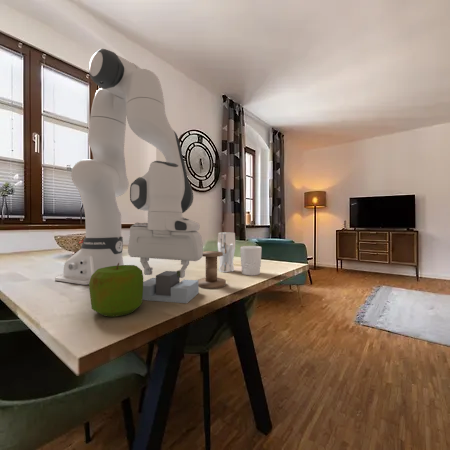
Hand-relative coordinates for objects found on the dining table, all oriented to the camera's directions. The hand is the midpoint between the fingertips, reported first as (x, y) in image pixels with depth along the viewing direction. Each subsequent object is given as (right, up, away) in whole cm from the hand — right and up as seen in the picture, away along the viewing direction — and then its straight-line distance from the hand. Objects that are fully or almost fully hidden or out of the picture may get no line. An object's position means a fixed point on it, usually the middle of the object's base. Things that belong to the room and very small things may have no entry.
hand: (164, 275), depth 69 cm
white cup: (+26, -5, +29) cm, 39 cm away
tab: (+1, -5, +1) cm, 5 cm away
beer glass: (+17, -5, +34) cm, 38 cm away
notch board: (+1, -6, +1) cm, 6 cm away
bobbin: (+12, -5, +12) cm, 18 cm away
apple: (-8, -6, -11) cm, 15 cm away
